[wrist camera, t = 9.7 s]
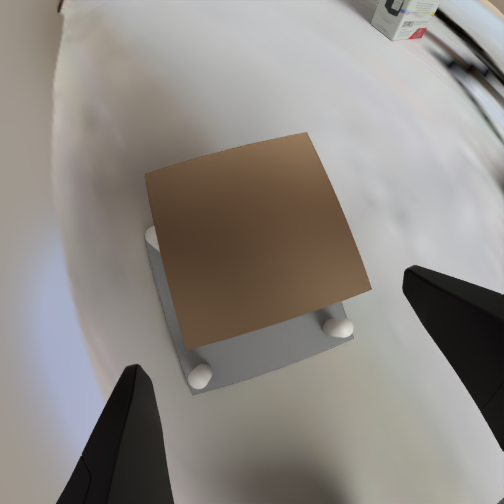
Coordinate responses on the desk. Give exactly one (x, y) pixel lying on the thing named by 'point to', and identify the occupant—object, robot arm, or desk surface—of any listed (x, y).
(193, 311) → the walnut block
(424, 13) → the ink box
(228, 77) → the desk surface
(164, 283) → the peg plate
